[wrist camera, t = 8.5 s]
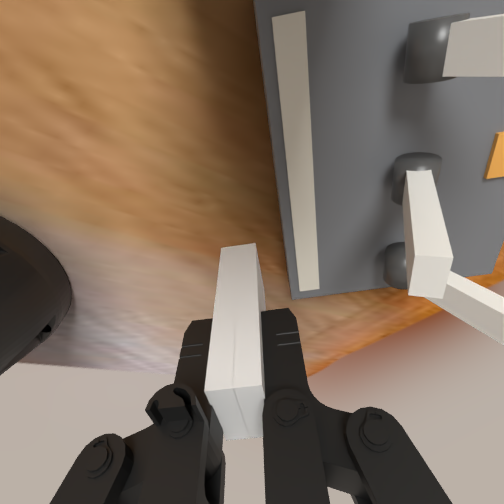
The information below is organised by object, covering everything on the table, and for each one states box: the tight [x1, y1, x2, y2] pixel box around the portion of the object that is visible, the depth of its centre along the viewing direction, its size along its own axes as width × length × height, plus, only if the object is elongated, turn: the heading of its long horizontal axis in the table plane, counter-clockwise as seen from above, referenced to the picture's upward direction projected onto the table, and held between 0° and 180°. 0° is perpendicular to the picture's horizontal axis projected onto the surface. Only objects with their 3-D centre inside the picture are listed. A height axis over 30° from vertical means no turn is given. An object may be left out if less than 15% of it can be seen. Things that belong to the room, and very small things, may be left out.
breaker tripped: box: [391, 152, 453, 299], centre depth 15 cm, size 2×2×10 cm
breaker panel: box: [253, 0, 504, 300], centre depth 21 cm, size 16×20×3 cm
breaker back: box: [383, 242, 504, 345], centre depth 19 cm, size 2×2×10 cm
